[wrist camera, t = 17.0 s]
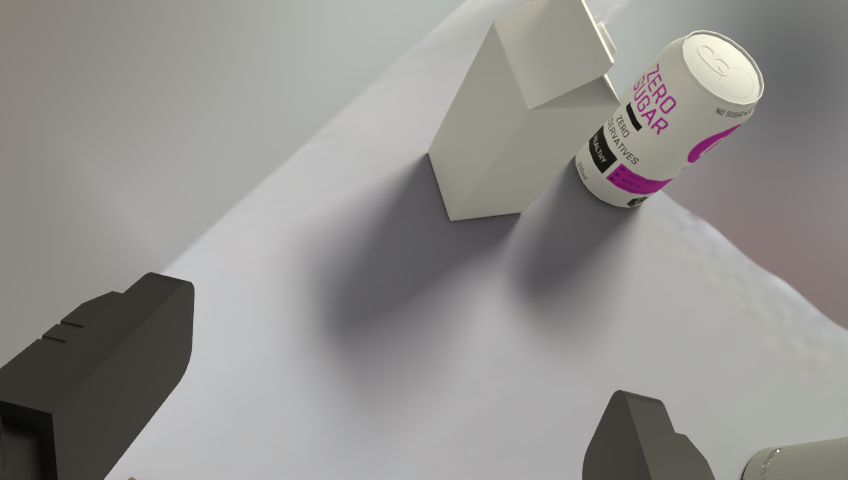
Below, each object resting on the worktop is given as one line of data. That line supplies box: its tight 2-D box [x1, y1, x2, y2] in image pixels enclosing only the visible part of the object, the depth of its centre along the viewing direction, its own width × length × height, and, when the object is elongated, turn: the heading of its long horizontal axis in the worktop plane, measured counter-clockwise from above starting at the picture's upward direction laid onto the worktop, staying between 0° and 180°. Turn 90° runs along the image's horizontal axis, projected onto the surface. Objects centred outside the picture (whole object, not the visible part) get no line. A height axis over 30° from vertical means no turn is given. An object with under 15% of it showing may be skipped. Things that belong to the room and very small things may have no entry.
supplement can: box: [576, 30, 764, 208], centre depth 48 cm, size 8×8×15 cm
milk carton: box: [428, 0, 621, 221], centre depth 42 cm, size 7×7×19 cm
